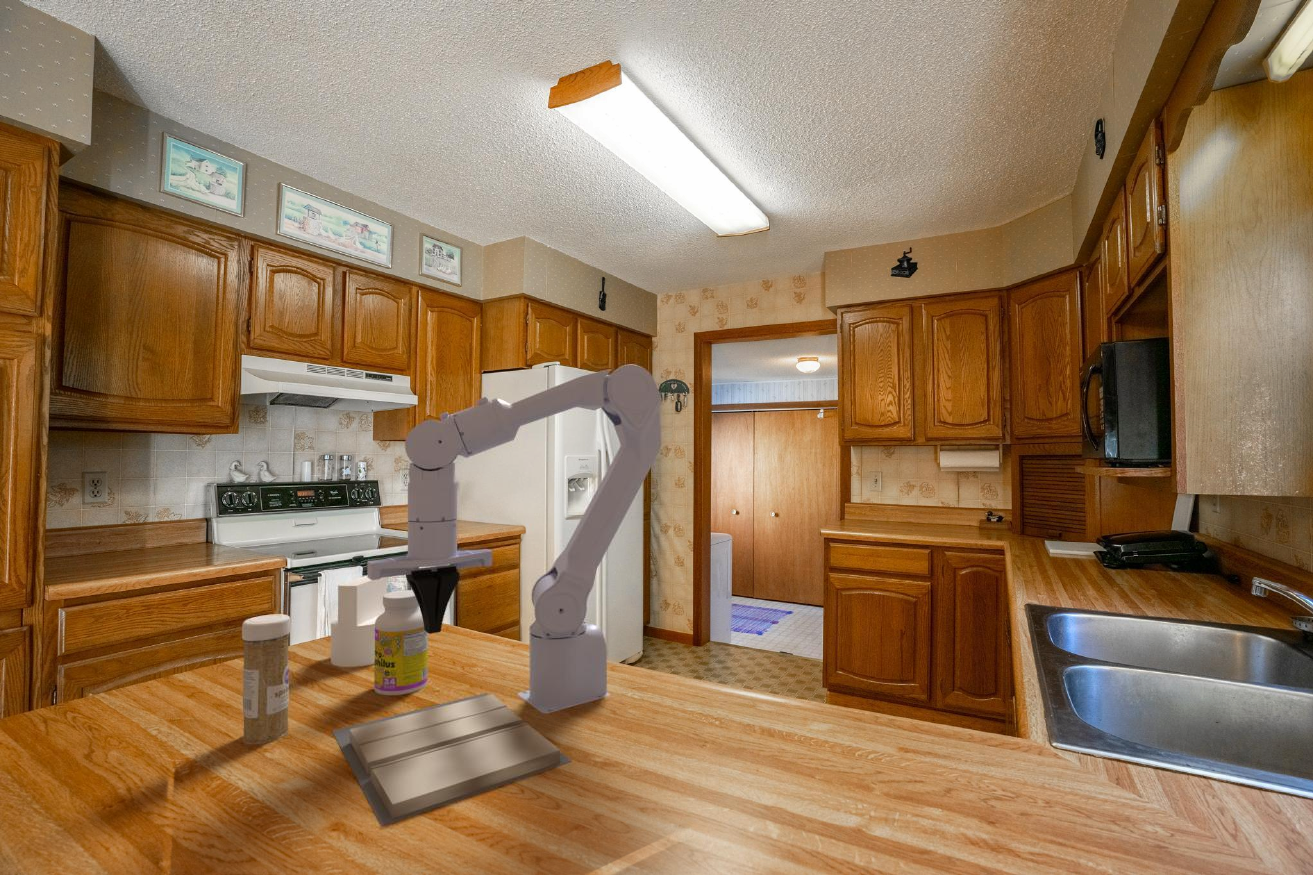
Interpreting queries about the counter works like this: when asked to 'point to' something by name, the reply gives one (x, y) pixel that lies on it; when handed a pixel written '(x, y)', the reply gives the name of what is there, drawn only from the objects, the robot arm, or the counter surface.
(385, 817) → the plate
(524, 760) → the plank
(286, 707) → the sprinkles bottle
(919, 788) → the counter surface
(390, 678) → the supplement bottle
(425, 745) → the loose plank
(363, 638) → the base with upright slab
